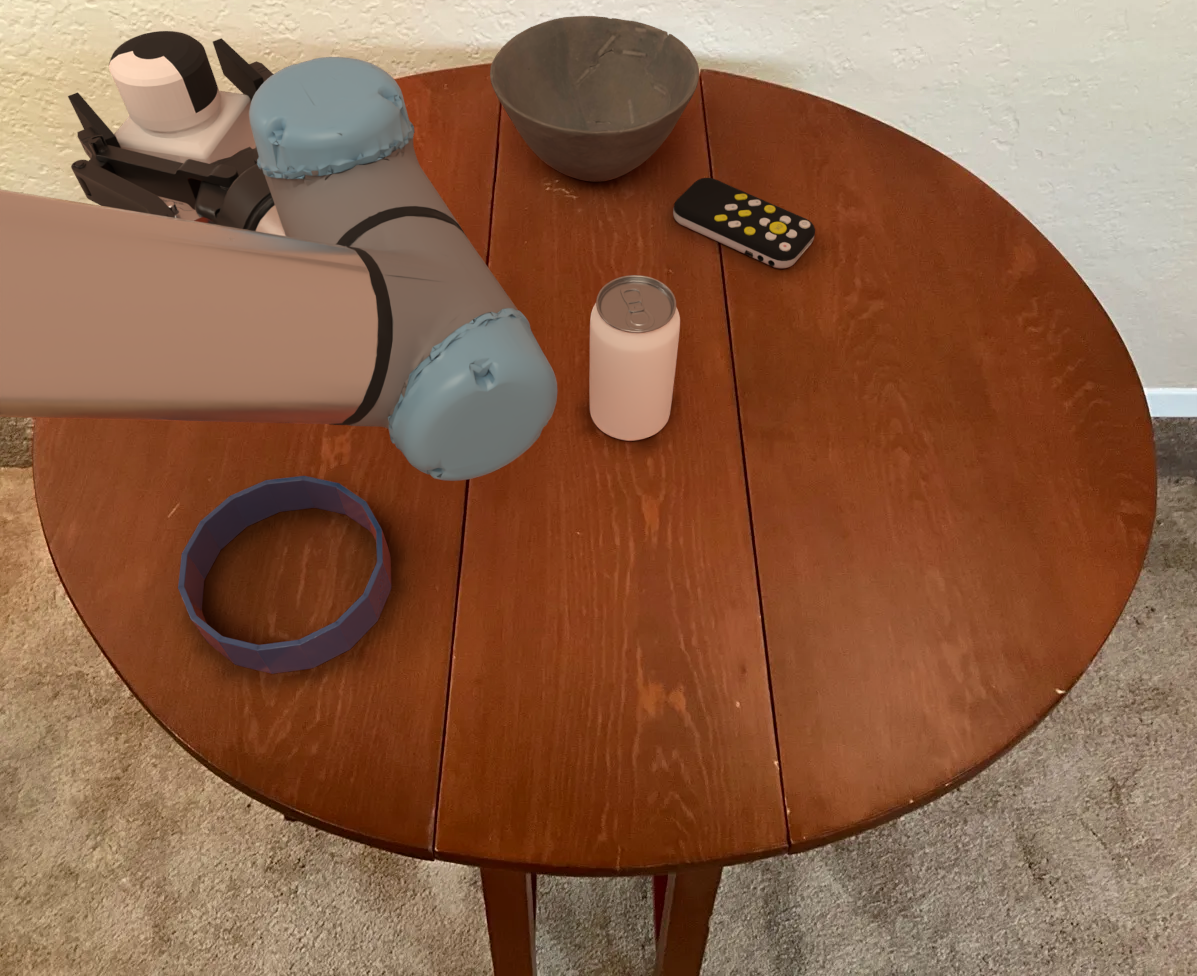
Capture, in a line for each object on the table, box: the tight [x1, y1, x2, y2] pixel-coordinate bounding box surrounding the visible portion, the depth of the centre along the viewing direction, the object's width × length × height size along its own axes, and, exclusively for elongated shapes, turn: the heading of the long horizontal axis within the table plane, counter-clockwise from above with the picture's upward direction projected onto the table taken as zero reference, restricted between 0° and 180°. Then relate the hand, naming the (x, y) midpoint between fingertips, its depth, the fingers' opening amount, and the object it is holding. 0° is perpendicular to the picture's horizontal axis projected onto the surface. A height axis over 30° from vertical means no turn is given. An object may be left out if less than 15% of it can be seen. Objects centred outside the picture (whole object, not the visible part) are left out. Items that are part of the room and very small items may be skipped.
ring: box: [177, 475, 393, 675], centre depth 67 cm, size 13×13×4 cm
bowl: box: [489, 15, 700, 183], centre depth 91 cm, size 19×19×10 cm
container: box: [108, 30, 256, 211], centre depth 72 cm, size 8×8×13 cm
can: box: [589, 274, 681, 442], centre depth 72 cm, size 6×6×12 cm
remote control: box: [672, 177, 816, 269], centre depth 89 cm, size 6×13×2 cm, turn 55°
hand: (153, 82), depth 72 cm, fingers closed on container, 10 cm apart
